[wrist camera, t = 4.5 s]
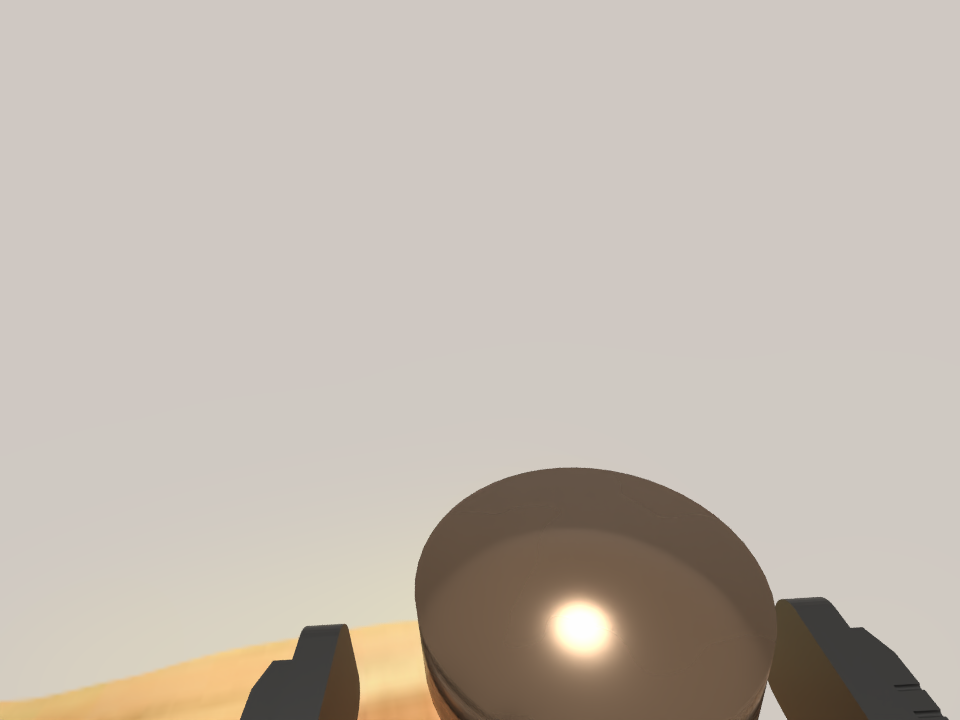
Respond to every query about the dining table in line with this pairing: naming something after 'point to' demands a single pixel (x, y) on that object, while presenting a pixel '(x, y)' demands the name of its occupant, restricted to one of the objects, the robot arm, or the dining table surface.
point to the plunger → (591, 605)
